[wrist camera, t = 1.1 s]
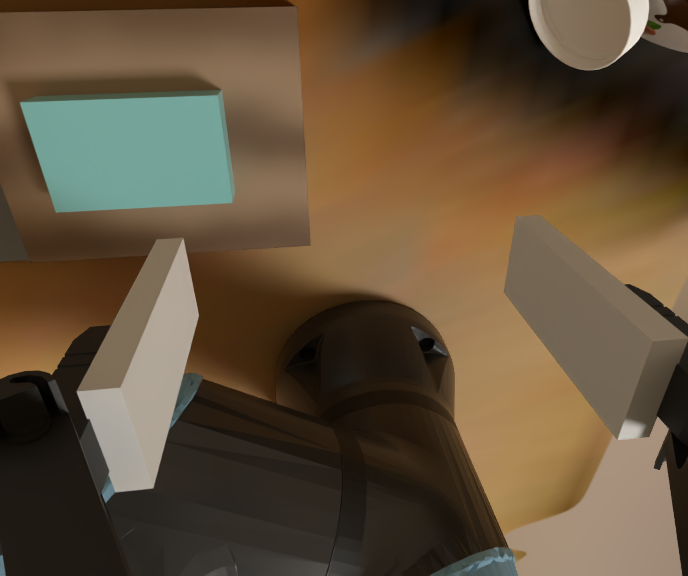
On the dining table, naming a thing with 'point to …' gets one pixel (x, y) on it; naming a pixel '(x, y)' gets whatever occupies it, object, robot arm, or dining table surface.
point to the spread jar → (607, 28)
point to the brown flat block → (161, 76)
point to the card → (132, 149)
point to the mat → (9, 234)
